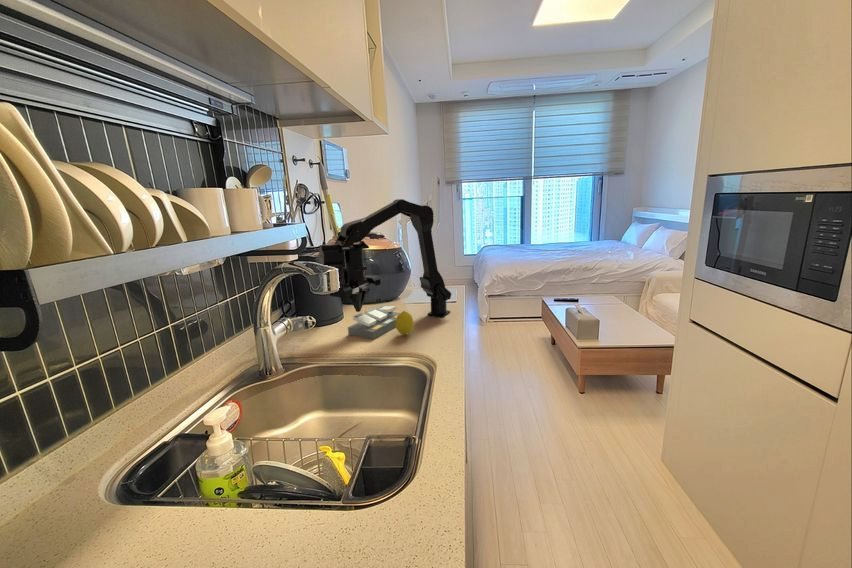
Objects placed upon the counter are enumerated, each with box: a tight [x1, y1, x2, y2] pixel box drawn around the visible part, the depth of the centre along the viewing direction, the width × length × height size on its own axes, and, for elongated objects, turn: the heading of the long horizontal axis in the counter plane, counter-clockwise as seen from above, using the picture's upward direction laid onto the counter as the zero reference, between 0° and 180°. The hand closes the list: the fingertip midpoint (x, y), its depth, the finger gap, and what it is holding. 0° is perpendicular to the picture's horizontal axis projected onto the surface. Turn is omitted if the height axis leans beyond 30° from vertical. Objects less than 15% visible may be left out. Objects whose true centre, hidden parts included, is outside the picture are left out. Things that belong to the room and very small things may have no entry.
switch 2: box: [374, 305, 398, 312], centre depth 126 cm, size 4×6×1 cm, turn 61°
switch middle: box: [363, 307, 387, 321], centre depth 121 cm, size 4×6×1 cm, turn 61°
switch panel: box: [347, 311, 401, 340], centre depth 121 cm, size 19×10×4 cm, turn 151°
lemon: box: [395, 310, 414, 336], centre depth 113 cm, size 6×6×8 cm
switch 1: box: [352, 312, 376, 327], centre depth 116 cm, size 4×6×1 cm, turn 61°
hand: (358, 311), depth 117 cm, fingers closed
